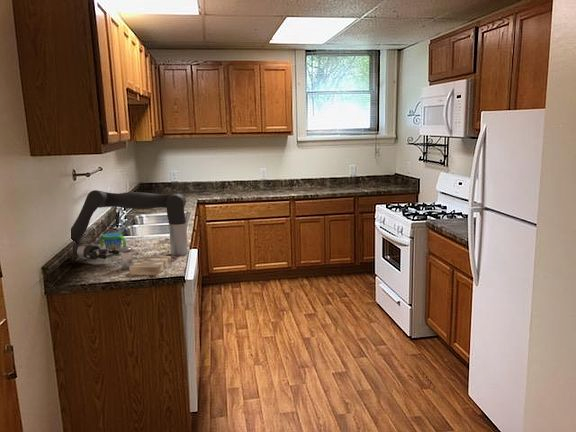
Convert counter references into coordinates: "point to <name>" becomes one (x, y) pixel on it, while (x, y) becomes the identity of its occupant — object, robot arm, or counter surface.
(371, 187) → the counter surface
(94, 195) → the robot arm
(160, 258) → the stand
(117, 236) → the snack cup
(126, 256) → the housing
